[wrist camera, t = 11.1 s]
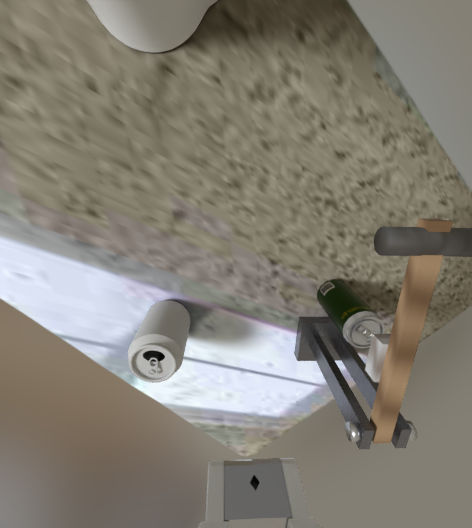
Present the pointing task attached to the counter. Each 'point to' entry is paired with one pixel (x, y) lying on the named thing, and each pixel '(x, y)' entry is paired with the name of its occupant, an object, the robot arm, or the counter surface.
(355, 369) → the press frame
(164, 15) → the robot arm
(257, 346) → the counter surface
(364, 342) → the green soda can
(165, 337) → the can
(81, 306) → the counter surface
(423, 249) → the hammer
